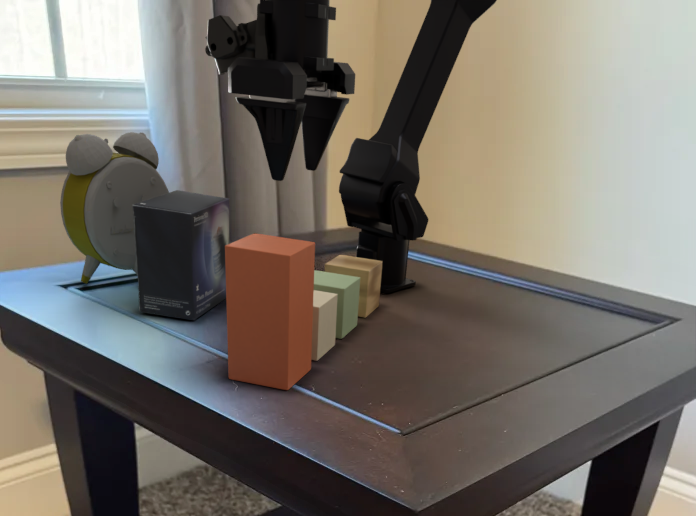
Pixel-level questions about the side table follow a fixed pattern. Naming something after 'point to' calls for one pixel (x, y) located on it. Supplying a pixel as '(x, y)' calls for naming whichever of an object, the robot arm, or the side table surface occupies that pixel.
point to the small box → (181, 253)
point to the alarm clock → (107, 197)
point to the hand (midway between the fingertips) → (295, 175)
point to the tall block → (269, 309)
